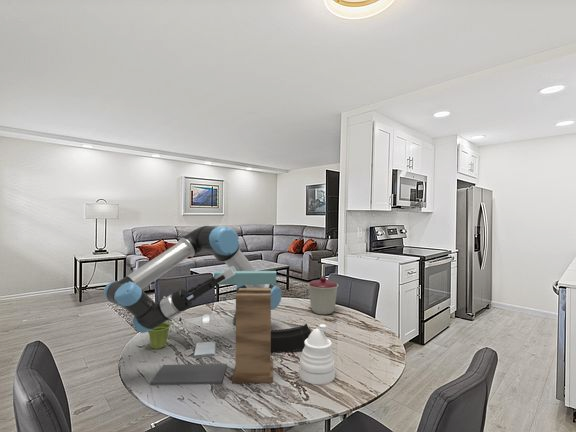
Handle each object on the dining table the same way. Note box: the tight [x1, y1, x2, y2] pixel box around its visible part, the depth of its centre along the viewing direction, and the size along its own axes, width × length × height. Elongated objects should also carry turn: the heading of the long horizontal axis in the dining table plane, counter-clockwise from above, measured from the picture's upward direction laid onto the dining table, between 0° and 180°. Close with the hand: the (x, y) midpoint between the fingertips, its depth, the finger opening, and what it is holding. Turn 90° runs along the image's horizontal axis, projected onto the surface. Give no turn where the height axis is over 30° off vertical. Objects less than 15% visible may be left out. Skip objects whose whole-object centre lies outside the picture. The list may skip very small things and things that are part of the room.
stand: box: [231, 288, 274, 384], centre depth 110 cm, size 12×14×30 cm
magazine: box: [271, 323, 313, 354], centre depth 128 cm, size 17×3×30 cm
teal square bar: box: [213, 270, 277, 286], centre depth 109 cm, size 4×22×4 cm, turn 92°
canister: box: [307, 275, 340, 316], centre depth 179 cm, size 18×18×21 cm
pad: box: [149, 363, 228, 386], centre depth 109 cm, size 12×24×1 cm, turn 92°
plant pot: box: [148, 322, 171, 350], centre depth 132 cm, size 9×9×9 cm
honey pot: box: [299, 323, 336, 385], centre depth 110 cm, size 13×13×18 cm
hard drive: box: [193, 340, 216, 359], centre depth 129 cm, size 2×8×12 cm
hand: (233, 270), depth 109 cm, fingers closed on teal square bar, 4 cm apart
